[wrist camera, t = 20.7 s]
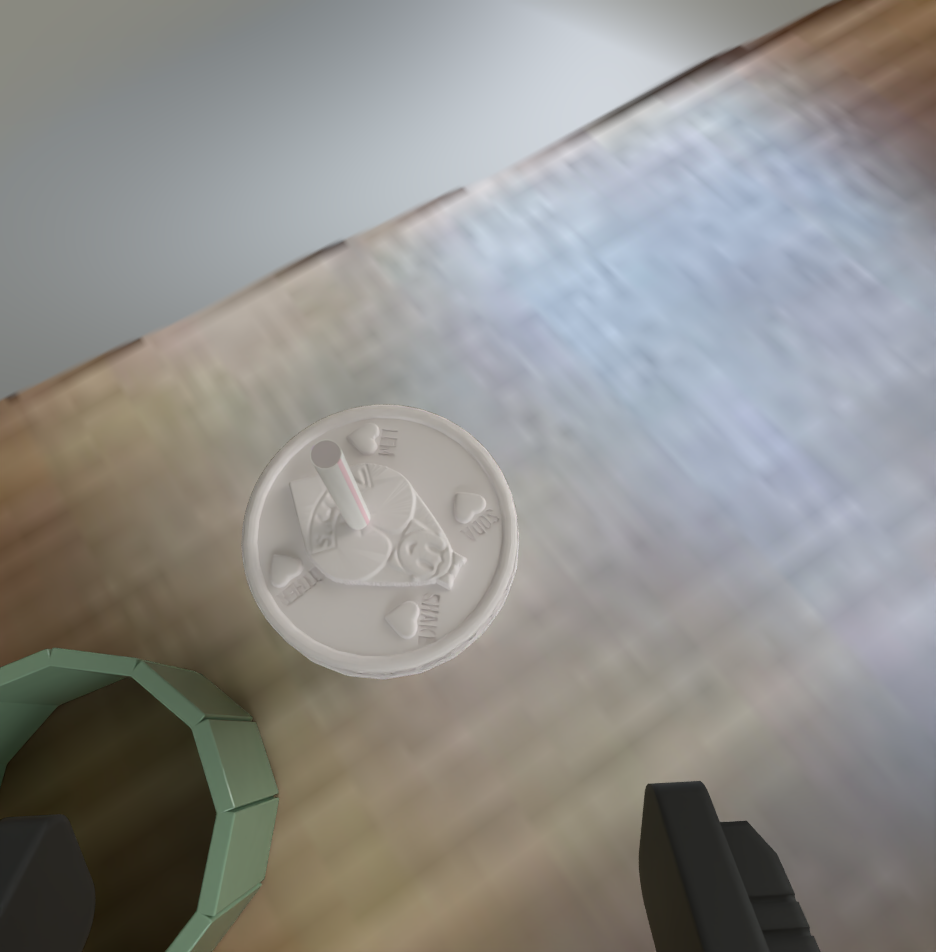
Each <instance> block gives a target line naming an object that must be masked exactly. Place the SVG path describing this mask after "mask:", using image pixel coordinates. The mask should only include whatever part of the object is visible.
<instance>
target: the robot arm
mask: <svg viewBox="0 0 936 952" xmlns="http://www.w3.org/2000/svg"><path fill="white" fill-rule="evenodd" d="M639 873H640V883H641V889H642V895H643V900H644V905H645V909H646V913H647V917H648V921H649V925H650V928H651V932H652V936H653V940H654V944H655V948H656V952H820V950H819V947H818V945H817V943H816V941H815V938H814V936H811V934H810V930H809V928H810V927H809V925H808V923H807V920H806V918H805V916H804V914H803V911H802V909H801V907H800V905H799V902H796V900H795V893H794V891H793V889H792V887H791V884H790V882H789V880H788V878H787V875H786V873H785V871H784V869H783V866H782V864H781V862H780V860H779V858H778V855H777V854H776V852H775V851H774V850H773V849H772V848H771V847H770V846H769V845H768V844H767V843H766V842H765V840H764V839H763V838H762V837H761V836H760V835H759V834H758V833H757V832H756V831H755V830H754V828H753V827H752V826H751V825H750V824H749V823H748V822H747V821H735V822H719V819H718V816H717V814H716V811H715V809H714V806H713V804H712V801H711V798H710V796H709V793H708V791H707V789H706V787H705V785H704V784H703V783H702V782H701V781H691V782H673V783H655V784H647V786H646V789H645V796H644V807H643V817H642V827H641V838H640V848H639ZM94 911H95V888H94V884H93V881H92V878H91V875H90V873H89V870H88V868H87V865H86V863H85V860H84V857H83V855H82V852H81V850H80V847H79V845H78V842H77V839H76V837H75V834H74V832H73V829H72V826H71V824H70V822H69V820H68V818H67V817H66V816H64V815H61V814H57V815H39V816H21V817H7V818H4V819H2V820H0V952H82V950H83V948H84V945H85V943H86V940H87V938H88V935H89V933H90V929H91V926H92V922H93V918H94Z"/></svg>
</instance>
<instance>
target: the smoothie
mask: <svg viewBox="0 0 936 952" xmlns="http://www.w3.org/2000/svg"><path fill="white" fill-rule="evenodd" d="M518 547H519V531H518V521H517V514H516V508H515V503H514V500H513V496H512V493H511V490H510V488H509V485H508V483H507V480H506V478H505V476H504V475H503V473H502V471H501V469H500V467H499V466H498V464H497V463H496V461H495V460H494V458H493V457H492V456H491V455H490V453H489V452H488V451H487V450H486V448H485V447H484V446H483V445H482V444H481V443H480V442H479V441H478V440H477V439H475V438H474V437H473V436H472V435H471V434H470V433H468V432H467V431H466V430H464V429H463V428H461V427H460V426H458V425H457V424H455V423H453V422H451V421H450V420H448V419H446V418H444V417H441V416H439V415H437V414H434V413H431V412H428V411H425V410H422V409H418V408H414V407H409V406H402V405H387V404H383V405H368V406H361V407H356V408H351V409H347V410H344V411H341V412H338V413H335V414H332V415H330V416H327V417H325V418H323V419H321V420H319V421H317V422H315V423H313V424H311V425H310V426H308V427H307V428H305V429H304V430H302V431H301V432H299V433H298V434H297V435H296V436H294V437H293V438H292V439H290V440H289V441H288V442H287V443H286V444H285V445H284V446H283V447H282V448H281V449H280V450H279V451H278V452H277V453H276V455H275V456H274V457H273V458H272V459H271V461H270V462H269V463H268V465H267V466H266V468H265V469H264V470H263V472H262V474H261V476H260V477H259V479H258V481H257V483H256V485H255V487H254V489H253V491H252V494H251V496H250V499H249V502H248V505H247V509H246V513H245V517H244V522H243V529H242V558H243V565H244V571H245V575H246V578H247V582H248V585H249V588H250V590H251V593H252V595H253V598H254V600H255V602H256V603H257V605H258V607H259V609H260V611H261V612H262V614H263V615H264V617H265V618H266V620H267V621H268V622H269V623H270V625H271V626H272V627H273V628H274V630H275V631H276V632H277V633H278V634H279V635H280V636H281V637H282V638H283V639H284V640H285V641H286V642H287V643H288V644H290V645H291V646H292V647H294V648H295V649H296V650H298V651H299V652H300V653H301V654H303V655H304V656H305V657H307V658H308V659H309V660H310V661H312V662H313V663H316V664H318V665H321V666H323V667H326V668H328V669H331V670H334V671H336V672H339V673H341V674H344V675H346V676H354V677H363V678H373V679H383V680H384V679H390V678H396V677H402V676H408V675H414V674H420V673H423V672H425V671H427V670H429V669H432V668H434V667H436V666H438V665H440V664H442V663H445V662H447V661H449V660H451V659H453V658H455V657H456V656H458V655H459V654H460V653H461V652H462V651H464V650H465V649H466V648H467V647H468V646H470V645H471V644H472V643H473V642H474V641H476V640H477V639H478V638H479V637H480V636H482V635H483V634H484V632H485V631H486V630H487V628H488V627H489V625H490V624H491V623H492V621H493V620H494V618H495V617H496V615H497V614H498V613H499V611H500V610H501V608H502V607H503V605H504V604H505V601H506V598H507V596H508V593H509V590H510V587H511V585H512V582H513V579H514V576H515V574H516V571H517V559H518Z"/></svg>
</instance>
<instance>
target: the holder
mask: <svg viewBox="0 0 936 952" xmlns="http://www.w3.org/2000/svg"><path fill="white" fill-rule="evenodd" d="M124 678H129V679H134V680H135V681H137V682H138V683H139V684H140V685H141V686H142V687H144V688H145V689H146V690H147V691H148V692H149V693H150V694H152V695H153V696H154V697H155V698H156V699H157V700H159V701H160V702H161V703H162V704H163V705H164V706H166V707H167V708H168V709H169V710H170V711H171V712H173V713H174V714H175V715H176V716H177V717H178V718H179V719H181V720H182V721H183V722H184V723H185V724H186V725H188V726H189V727H190V728H191V729H192V733H193V736H194V739H195V743H196V746H197V749H198V753H199V756H200V760H201V763H202V766H203V770H204V773H205V776H206V780H207V783H208V786H209V790H210V793H211V796H212V800H213V803H214V806H215V810H216V818H215V823H214V828H213V833H212V838H211V842H210V847H209V852H208V857H207V862H206V867H205V872H204V876H203V881H202V886H201V891H200V896H199V901H198V906H197V910H196V912H195V913H194V914H193V916H192V917H191V918H190V920H189V921H188V922H187V924H186V925H185V926H184V927H183V929H182V930H181V931H180V933H179V934H178V935H177V937H176V938H175V939H174V941H173V942H172V943H171V944H170V946H169V947H168V948H167V950H166V951H165V952H212V951H213V950H214V949H215V947H216V946H217V945H218V943H219V942H220V941H221V939H222V938H223V937H224V935H225V934H226V933H227V931H228V930H229V929H230V927H231V926H232V925H233V923H234V922H235V921H236V919H237V918H238V917H239V915H240V914H241V913H242V911H243V910H244V909H245V907H246V906H247V904H248V903H249V902H250V900H251V899H252V898H253V896H254V895H255V894H256V892H257V891H258V890H259V888H260V887H261V883H260V882H262V881H263V880H264V878H265V873H266V868H267V862H268V857H269V851H270V846H271V840H272V835H273V829H274V824H275V819H276V813H277V808H278V802H279V798H278V797H273V796H275V795H277V794H278V793H279V791H278V788H277V785H276V782H275V779H274V776H273V773H272V770H271V767H270V764H269V760H268V757H267V754H266V751H265V748H264V745H263V742H262V739H261V736H260V733H259V730H258V727H257V723H256V722H255V721H252V719H253V717H252V716H251V715H250V714H248V713H247V712H246V711H245V710H244V709H243V708H241V707H240V706H239V705H238V704H237V703H235V702H234V701H233V700H232V699H231V698H229V697H228V696H227V695H226V694H225V693H224V692H222V691H221V690H220V689H219V688H218V687H216V686H215V685H214V684H213V683H212V682H210V681H209V680H208V679H207V678H206V677H204V676H203V675H202V674H200V673H197V672H196V671H192V670H188V669H183V668H179V667H175V666H170V665H166V664H161V663H157V662H152V661H148V660H143V659H139V658H133V657H125V656H117V655H109V654H101V653H93V652H86V651H78V650H70V649H62V648H52V649H45V650H42V651H40V652H37V653H35V654H32V655H30V656H27V657H25V658H22V659H20V660H17V661H15V662H12V663H10V664H7V665H5V666H2V667H0V787H1V783H2V780H3V777H4V773H5V770H6V766H7V763H8V762H9V761H10V760H11V759H12V758H13V757H14V755H15V754H16V753H17V752H18V751H19V750H20V749H21V747H22V746H23V745H24V744H25V743H26V742H27V741H28V740H29V738H30V737H31V736H32V735H33V734H34V733H35V732H36V730H37V729H38V728H39V727H40V726H41V725H42V724H43V722H44V721H45V720H46V719H47V718H48V717H49V716H50V715H51V713H52V712H53V711H54V710H55V709H56V708H57V707H58V706H59V705H61V704H64V703H66V702H69V701H71V700H73V699H76V698H78V697H81V696H83V695H85V694H88V693H90V692H93V691H95V690H98V689H100V688H102V687H105V686H107V685H110V684H112V683H114V682H117V681H119V680H122V679H124Z"/></svg>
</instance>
